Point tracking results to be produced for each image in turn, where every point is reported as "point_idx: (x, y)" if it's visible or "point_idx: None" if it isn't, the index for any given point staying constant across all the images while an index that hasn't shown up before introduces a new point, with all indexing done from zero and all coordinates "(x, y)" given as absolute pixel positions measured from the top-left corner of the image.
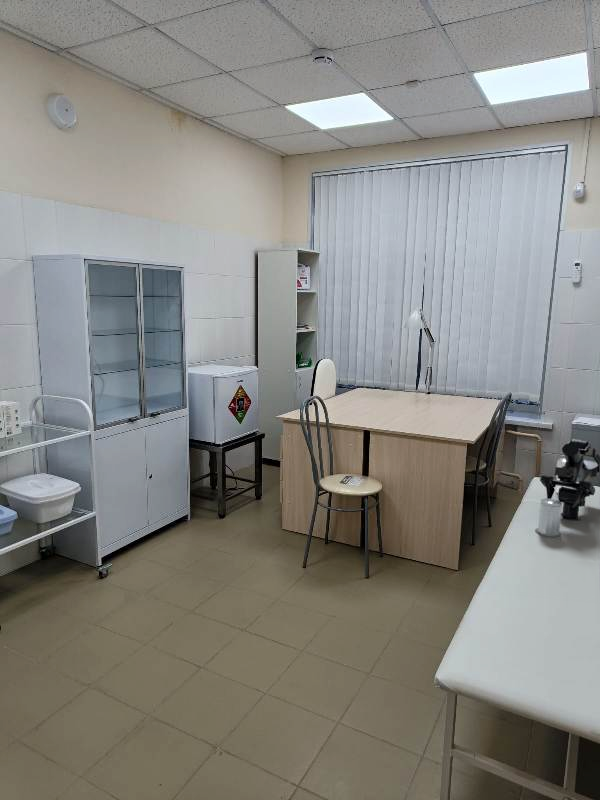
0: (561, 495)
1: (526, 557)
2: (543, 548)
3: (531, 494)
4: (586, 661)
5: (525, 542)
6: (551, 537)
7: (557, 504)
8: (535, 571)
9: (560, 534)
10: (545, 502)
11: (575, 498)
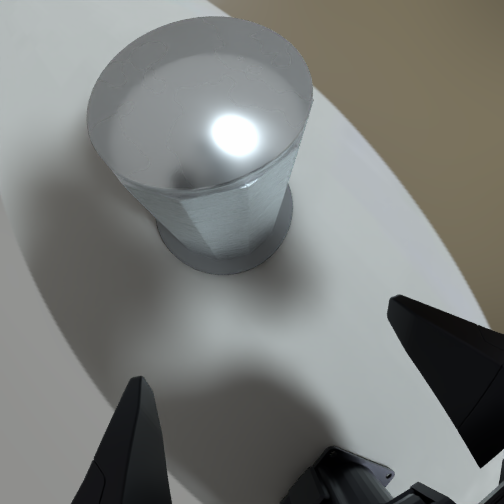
0: (414, 500)
1: (131, 19)
2: None
3: None
4: None
5: None
6: None
7: (110, 91)
8: (79, 13)
9: (177, 249)
10: (212, 31)
11: (113, 450)
